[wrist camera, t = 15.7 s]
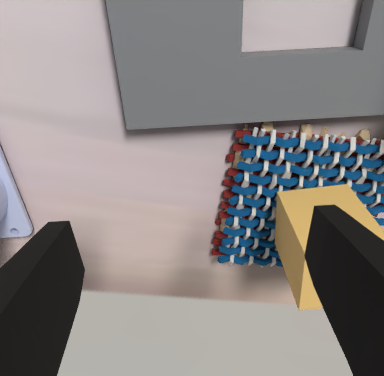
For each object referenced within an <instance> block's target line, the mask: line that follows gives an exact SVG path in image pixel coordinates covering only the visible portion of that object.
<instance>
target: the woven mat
mask: <svg viewBox="0 0 384 376" xmlns="http://www.w3.org/2000/svg"><path fill="white" fill-rule="evenodd" d="M328 129H329V127H325V126H323V127H322V130H321V133H320V136H319V135H318V134H317V135H314V134H312V126H311V125H310V124H303V125H301V128H300V133H296V132H297V131H293V130H292V132H290V133H276V130H274V128H273V122H272V121H269V122H263V124H262V125H261V127H260V131H258V128H257V127H254V129H253V131H249V130H247V124H246V125H245V127H244V129H243V130H236V131H235V137H240V139H239V142H238V143H233V146H232V150H233V151H235V154H227V157H226V160H227V161H228V162H231V161H233V165H232V168H228V172H227V174H228V175H229V176H232V180H227V179H225V180H224V181H223V185H228V186H232V190H226V191H223V197H224V198H229V199H228V202H226V201H222V202H221V208H225V210H224V211H220V212H219V218H222V219H216V221H215V223H216V224H217V225H220V231H216V232H215V237H216V238H214V239H213V242H212V243H213V244H215V245H218V246H219V249H212V255H221V256H220V257H218V262H219V263H224V262H228V261H229V263H228V265H229V266H231V265H232V264H233V263H234V262H235V263H236V264H241V265H243V264H244V263H246V262H248V261H249V262H248V263H247V264H248V266H250V265H251V264H252V263H254V264H259V265H260V267H261V268H264V265H267V264H269V263H271V262H272V263H271V264H270V267H273V266H274V265H277V266H282V267H283V265H282V262H281V259H280V256H279V254H278V251H277V248H276V245H275V227H276V205H277V192H280V191H289V190H298V189H307V188H316V187H325V186H334V185H343V184H348V185H349V187H350V188H351V189H352V191H353V192H354V193H355V194H356V196H357V197H358V198H359V200H360V201H361V202H362V203H363V205H364V206H365V207H366V209H367V210H368V211H369V212H370V214H371V215H372V216H375V217H377V215H378V213H380V212H384V155H382V154H384V140H381V136H380V137H379V139H378V140H377V141H376V139H377V138H373V139H372V141H370V140H368V139H371V138H370V133H369V130H361V131H359V132H358V134H357V135H356V136H355V137H351V140H349V139H346V137H345V133H344V132H342V133H341V135H340V136H339V137H338V138H336V136H337V135H336V134H331V137H329V135H327V131H328ZM380 140H381V141H380ZM247 143H250V144H247ZM265 144H269V145H268V146H265ZM274 144H275V145H278V146H277V147H276V146H274ZM293 146H294V148H293ZM306 148H307V149H306ZM347 150H348V151H347ZM283 159H285V160H283ZM304 160H306V161H304ZM250 163H251V164H250ZM353 164H355V165H353ZM381 166H382V167H381ZM267 175H268V176H267ZM264 176H265V177H264ZM258 198H260V199H258ZM257 199H258V200H257ZM375 217H373V218H374V219H375V220H376V221H377V223H378V224H379V225H380V226H381V225H384V219H383V218H380V219H379V218H375ZM249 236H251V237H250V238H249V239H247V238H248V237H249ZM266 239H267V241H266ZM225 246H226V247H225ZM255 248H256V249H255ZM271 248H274V249H271ZM243 255H245V256H243ZM242 256H243V257H242ZM259 257H261V258H259ZM278 258H279V259H278Z"/></svg>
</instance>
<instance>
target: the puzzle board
mask: <svg viewBox="0 0 384 376" xmlns="http://www.w3.org/2000/svg"><path fill="white" fill-rule="evenodd" d="M106 6H107V12H108V18H109V24H110V30H111V37H112V43H113V49H114V55H115V61H116V67H117V73H118V79H119V85H120V91H121V98H122V104H123V110H124V116H125V122H126V128H127V130H133V129H150V128H167V127H184V126H201V125H218V124H235V123H252V122H269V121H286V120H303V119H320V118H337V117H354V116H371V115H384V0H363V2H362V7H361V12H360V17H359V21H358V26H357V31H356V36H355V41H354V45H353V46H348V47H331V48H313V49H295V50H278V51H260V52H242V53H241V46H242V18H243V0H106Z"/></svg>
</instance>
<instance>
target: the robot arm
mask: <svg viewBox="0 0 384 376" xmlns="http://www.w3.org/2000/svg"><path fill="white" fill-rule="evenodd" d="M13 228H15V229H17V230H15V229H13ZM32 230H33V226H32V224H31V221H30V219H29V216H28V214H27V211H26V209H25V206H24V204H23V201H22V199H21V196H20V194H19V191H18V189H17V186H16V184H15V181H14V179H13V176H12V174H11V171H10V169H9V166H8V164H7V161H6V159H5V156H4V154H3V151H2V149H1V146H0V238H9V237H26V236H29V235H30V234H31V232H32ZM304 257H305V260H306V263H307V267H308V270H309V274H310V277H311V280H312V283H313V286H314V288H315V291H316V293H317V295H318V297H319V300H320V302H321V304H322V306H323V309H324V311H325V313H326V315H327V317H328V319H329V322H330V324H331V326H332V328H333V330H334V333H335V335H336V337H337V339H338V341H339V343H340V346H341V348H342V350H343V352H344V354H345V357H346V359H347V361H348V364H349V366H350V369H351V371H352V373H353V376H384V240H382V239H381V238H380V237H378V236H377V235H376V234H374V233H373V232H372V231H370V230H369V229H368V228H366V227H365V226H364V225H362V224H361V223H360V222H358V221H357V220H356V219H354V218H353V217H352V216H350V215H349V214H347V213H346V212H345V211H343V210H342V209H341V208H339V207H338V206H336V205H335V204H334V205H318V206H314V209H313V214H312V219H311V224H310V229H309V234H308V239H307V245H306V250H305V255H304ZM84 272H85V269H84V266H83V262H82V259H81V256H80V253H79V250H78V247H77V243H76V240H75V237H74V234H73V231H72V228H71V225H70V221H58V222H48V223H47V224H46V225H45V226H44V227H43V228H42V229H40V230H39V231H38V232H37V233H36V234H35V235H34V236H33V237H32V238H31V239H30V240H29V241H28V242H27V243H26V244H25V245H24V246H23V247H22V248H21V249H20V250H19V251H18V252H17V253H16V254H15V255H14V256H13V257H12V258H11V259H10V260H9V261H7V262H6V263H5V264H4V265H3V266H2V267H1V268H0V376H57V373H58V370H59V367H60V364H61V360H62V357H63V354H64V351H65V348H66V344H67V341H68V338H69V334H70V331H71V328H72V325H73V321H74V318H75V315H76V312H77V308H78V305H79V301H80V296H81V290H82V284H83V278H84Z"/></svg>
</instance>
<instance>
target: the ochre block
mask: <svg viewBox="0 0 384 376" xmlns="http://www.w3.org/2000/svg"><path fill="white" fill-rule="evenodd" d="M334 204H335V205H336V206H338V207H339V208H341V209H342V210H343V211H345V212H346V213H347V214H349V215H350V216H352V217H353V218H354V219H356V220H357V221H358V222H360V223H361V224H362V225H364V226H365V227H366V228H368V229H369V230H370V231H372V232H373V233H374V234H376V235H377V236H378V237H380V238H381V239H382V240H384V230H383V229H382V228H381V227H380V225H379V224H378V223H377V221H376V220H375V219H374V218H373V216H372V215H371V214H370V212H369V211H368V210H367V209H366V207H365V206H364V205H363V203H362V202H361V201H360V200H359V198H358V197H357V196H356V194H355V193H354V192H353V191H352V189H351V188H350V187H349V185H348V184H343V185H334V186H325V187H316V188H307V189H298V190H289V191H280V192H277V205H276V227H275V245H276V248H277V251H278V254H279V256H280V259H281V262H282V265H283V268H284V270H285V273H286V276H287V279H288V282H289V284H290V287H291V290H292V293H293V295H294V298H295V301H296V304H297V307H298V309H299V310H308V309H318V308H323V306H322V304H321V302H320V300H319V297H318V295H317V293H316V291H315V288H314V286H313V283H312V280H311V277H310V274H309V270H308V267H307V263H306V260H305V257H304V255H305V250H306V245H307V239H308V234H309V229H310V224H311V219H312V214H313V209H314V206H318V205H334Z"/></svg>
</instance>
